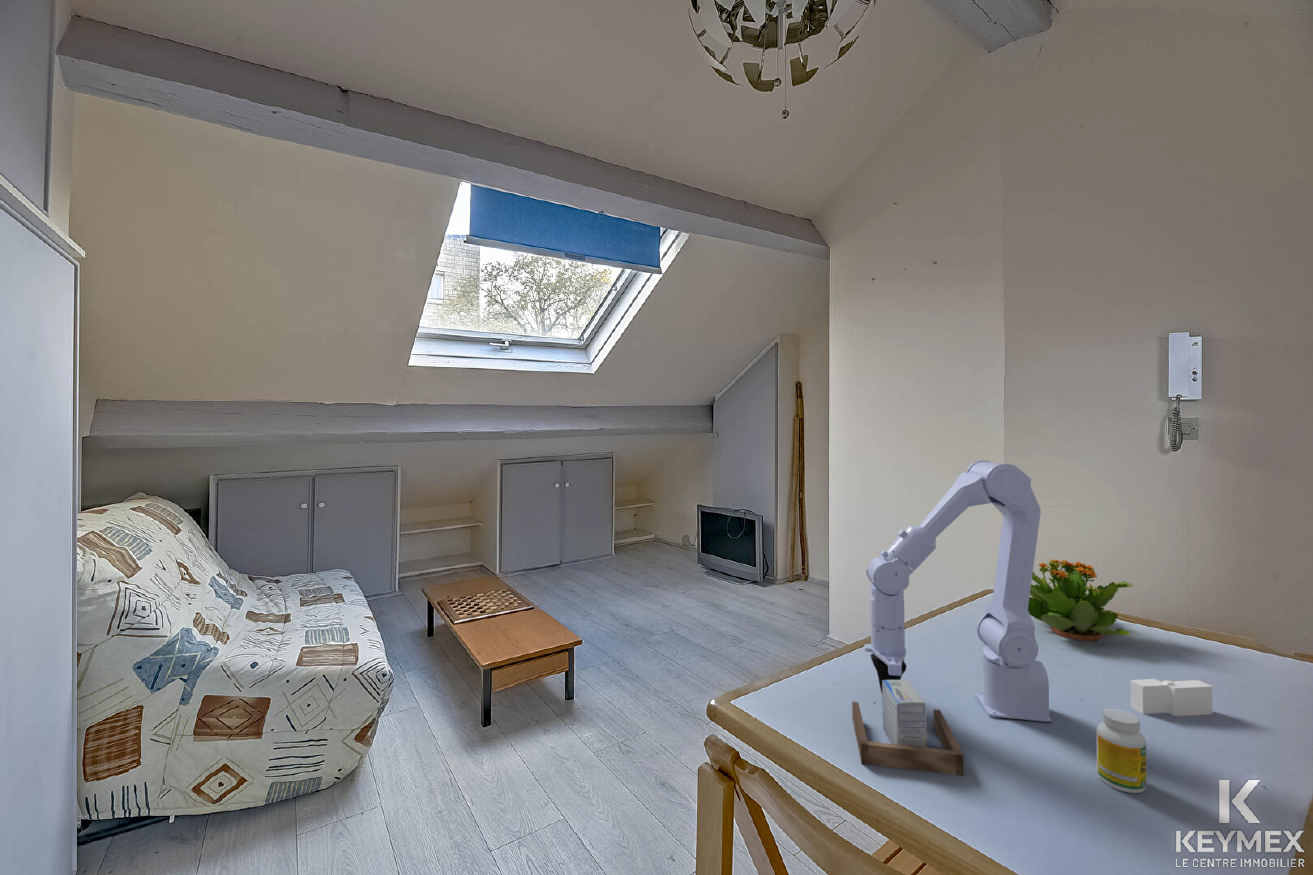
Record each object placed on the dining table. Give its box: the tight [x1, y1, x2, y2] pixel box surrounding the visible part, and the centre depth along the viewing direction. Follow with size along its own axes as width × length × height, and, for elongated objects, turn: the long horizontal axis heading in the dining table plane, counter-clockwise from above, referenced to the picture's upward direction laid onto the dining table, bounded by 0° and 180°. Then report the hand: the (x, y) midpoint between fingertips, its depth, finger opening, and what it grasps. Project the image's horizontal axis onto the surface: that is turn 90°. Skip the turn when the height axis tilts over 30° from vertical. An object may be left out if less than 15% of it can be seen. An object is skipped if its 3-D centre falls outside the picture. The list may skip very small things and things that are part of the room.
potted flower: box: [1028, 558, 1133, 642], centre depth 130 cm, size 25×24×18 cm
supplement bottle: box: [1096, 708, 1147, 794], centre depth 78 cm, size 5×5×10 cm
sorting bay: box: [851, 701, 965, 777], centre depth 88 cm, size 14×13×3 cm
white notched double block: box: [1130, 678, 1213, 717], centre depth 97 cm, size 15×11×6 cm
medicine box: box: [881, 679, 928, 748], centre depth 88 cm, size 8×4×9 cm, turn 174°
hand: (888, 697), depth 101 cm, fingers closed
